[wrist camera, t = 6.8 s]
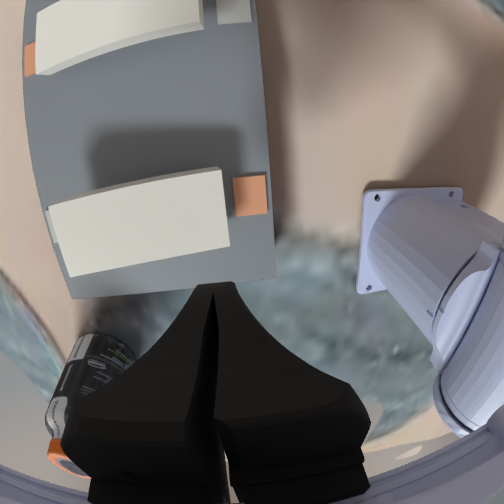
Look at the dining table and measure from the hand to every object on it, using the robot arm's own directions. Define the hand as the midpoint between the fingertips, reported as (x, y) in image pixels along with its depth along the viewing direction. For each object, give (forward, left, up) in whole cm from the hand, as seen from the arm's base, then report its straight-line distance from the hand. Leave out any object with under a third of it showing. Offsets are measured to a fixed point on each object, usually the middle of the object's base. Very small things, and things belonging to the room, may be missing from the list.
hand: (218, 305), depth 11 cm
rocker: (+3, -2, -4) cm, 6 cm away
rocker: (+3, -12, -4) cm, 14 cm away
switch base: (+3, -7, -9) cm, 12 cm away
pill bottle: (+11, +11, -9) cm, 18 cm away
